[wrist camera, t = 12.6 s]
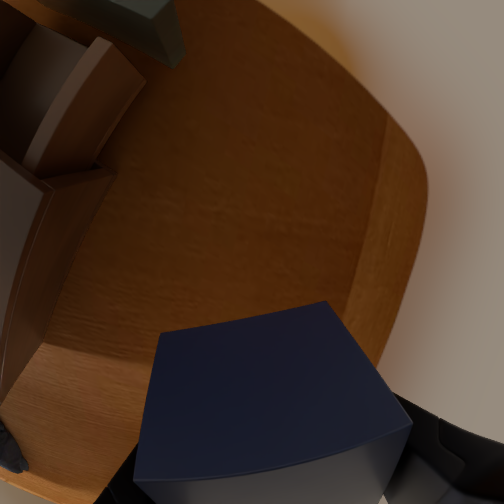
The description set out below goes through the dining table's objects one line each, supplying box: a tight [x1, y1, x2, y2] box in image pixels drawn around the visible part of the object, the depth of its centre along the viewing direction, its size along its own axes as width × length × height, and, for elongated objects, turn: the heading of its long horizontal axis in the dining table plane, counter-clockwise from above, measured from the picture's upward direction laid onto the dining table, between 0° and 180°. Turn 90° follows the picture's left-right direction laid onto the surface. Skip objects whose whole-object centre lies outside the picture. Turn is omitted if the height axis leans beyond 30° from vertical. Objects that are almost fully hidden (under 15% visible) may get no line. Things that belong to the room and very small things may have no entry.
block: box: [133, 301, 413, 504], centre depth 7 cm, size 5×5×5 cm
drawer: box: [0, 0, 186, 180], centre depth 9 cm, size 18×11×7 cm, turn 144°
